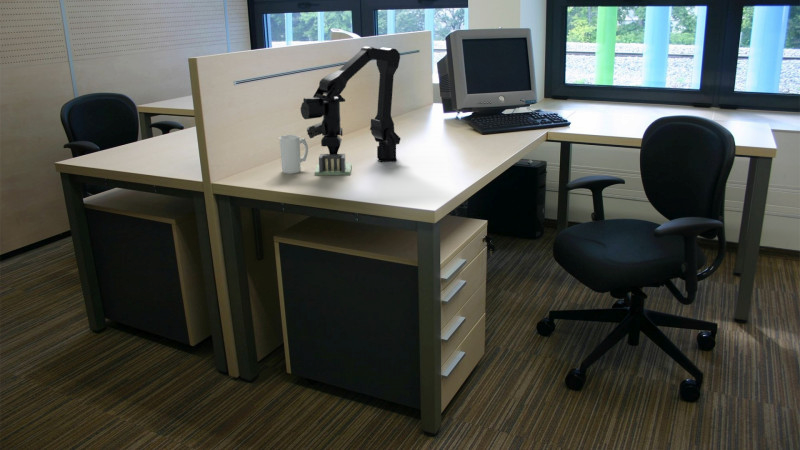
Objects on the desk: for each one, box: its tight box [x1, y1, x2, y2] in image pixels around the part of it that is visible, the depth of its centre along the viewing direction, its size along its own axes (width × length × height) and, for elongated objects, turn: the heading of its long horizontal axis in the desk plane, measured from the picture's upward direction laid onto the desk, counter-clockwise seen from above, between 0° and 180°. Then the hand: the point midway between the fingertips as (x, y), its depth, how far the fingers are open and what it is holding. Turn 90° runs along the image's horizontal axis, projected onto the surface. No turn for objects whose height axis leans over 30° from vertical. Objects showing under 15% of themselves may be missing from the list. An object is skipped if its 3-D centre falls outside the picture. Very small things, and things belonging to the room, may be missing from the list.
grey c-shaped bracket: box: [318, 153, 346, 173], centre depth 224 cm, size 6×8×5 cm
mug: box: [279, 134, 309, 175], centre depth 226 cm, size 10×7×12 cm, turn 124°
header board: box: [314, 159, 352, 176], centre depth 228 cm, size 12×12×5 cm
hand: (333, 160), depth 228 cm, fingers closed
